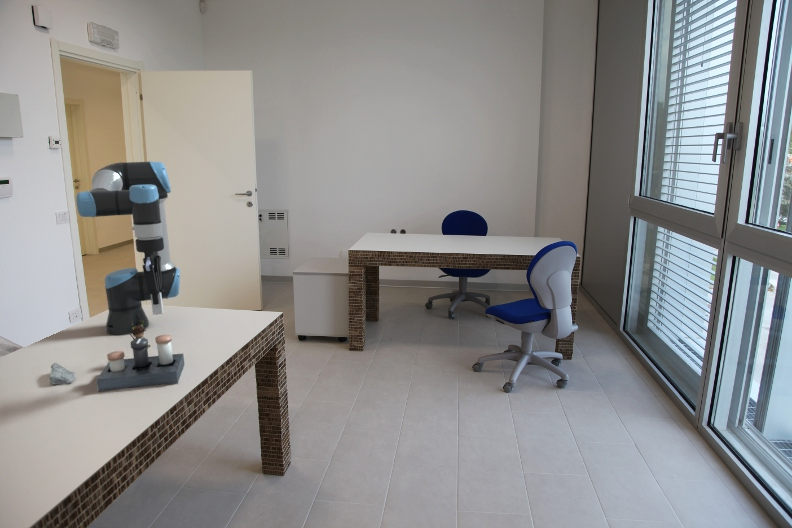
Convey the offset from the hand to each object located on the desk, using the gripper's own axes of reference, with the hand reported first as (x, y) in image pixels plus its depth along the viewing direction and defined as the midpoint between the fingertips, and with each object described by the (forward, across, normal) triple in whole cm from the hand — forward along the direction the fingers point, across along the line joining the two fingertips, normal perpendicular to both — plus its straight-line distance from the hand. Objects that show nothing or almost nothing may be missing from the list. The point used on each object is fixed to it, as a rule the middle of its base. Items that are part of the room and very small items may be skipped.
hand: (158, 313), depth 160 cm
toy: (+21, -14, -9) cm, 27 cm away
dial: (+16, 0, -6) cm, 17 cm away
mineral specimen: (+21, -6, -31) cm, 38 cm away
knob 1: (+20, 0, -13) cm, 24 cm away
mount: (+21, 0, -6) cm, 22 cm away
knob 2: (+16, 0, +1) cm, 16 cm away
